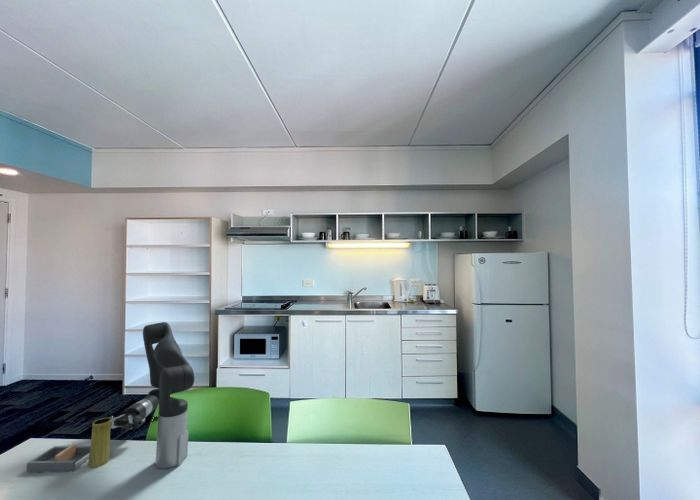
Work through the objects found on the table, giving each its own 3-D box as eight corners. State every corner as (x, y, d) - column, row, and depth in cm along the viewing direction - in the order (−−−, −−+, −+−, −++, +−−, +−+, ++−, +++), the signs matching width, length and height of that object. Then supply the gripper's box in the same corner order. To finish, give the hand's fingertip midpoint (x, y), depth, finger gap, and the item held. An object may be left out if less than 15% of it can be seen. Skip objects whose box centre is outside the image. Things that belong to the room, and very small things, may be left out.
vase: (114, 457, 111) (117, 417, 112) (98, 468, 105) (102, 425, 106) (99, 456, 112) (102, 416, 113) (82, 467, 106) (86, 424, 107)
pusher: (75, 455, 112) (76, 443, 112) (57, 467, 104) (58, 455, 105) (72, 455, 111) (73, 443, 112) (54, 467, 104) (55, 455, 105)
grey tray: (95, 454, 113) (96, 445, 113) (72, 471, 103) (73, 462, 103) (53, 454, 112) (54, 446, 113) (26, 472, 102) (27, 463, 103)
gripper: (121, 403, 130) (90, 421, 113) (155, 402, 130) (129, 420, 114) (120, 421, 129) (89, 442, 113) (154, 420, 130) (128, 441, 113)
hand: (109, 431), depth 113 cm, fingers open, 8 cm apart
